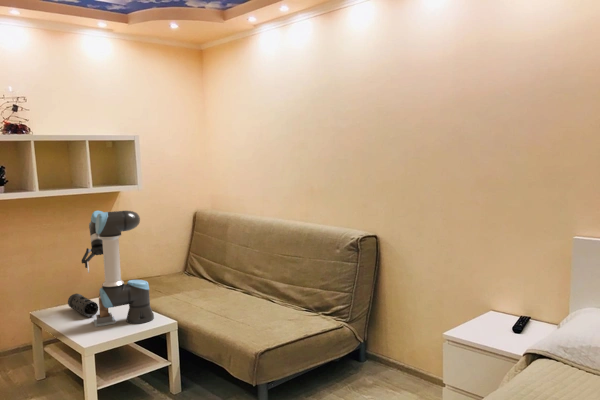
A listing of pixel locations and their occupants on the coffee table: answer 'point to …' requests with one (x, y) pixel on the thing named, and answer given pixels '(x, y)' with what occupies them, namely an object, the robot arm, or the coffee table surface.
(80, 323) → the coffee table surface
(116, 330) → the coffee table surface
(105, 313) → the walnut post
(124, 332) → the coffee table surface
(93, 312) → the muzzle brake
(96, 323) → the socket stand
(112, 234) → the robot arm
